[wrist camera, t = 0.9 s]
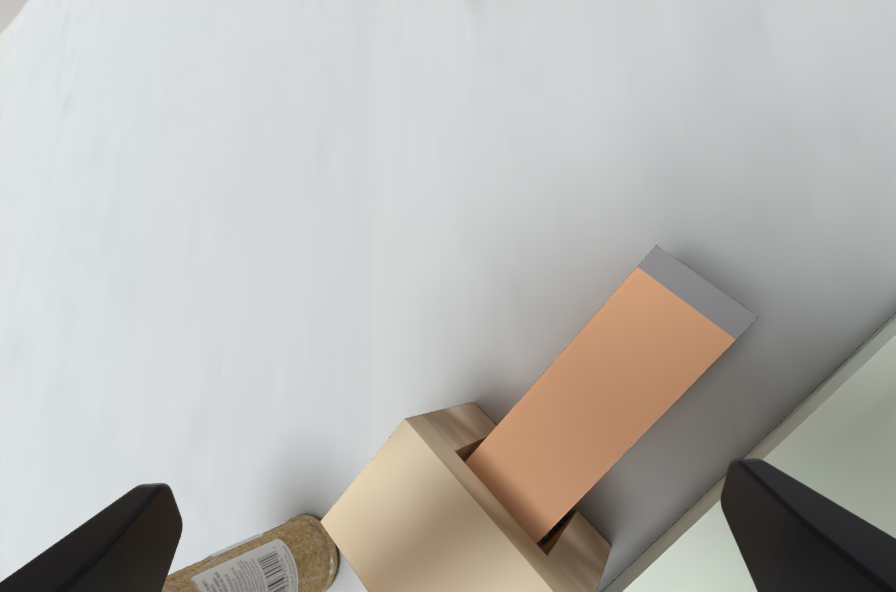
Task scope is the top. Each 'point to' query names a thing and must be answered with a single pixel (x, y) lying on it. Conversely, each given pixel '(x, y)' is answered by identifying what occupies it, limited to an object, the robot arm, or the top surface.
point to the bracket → (451, 520)
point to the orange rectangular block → (606, 390)
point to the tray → (795, 474)
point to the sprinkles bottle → (266, 563)
